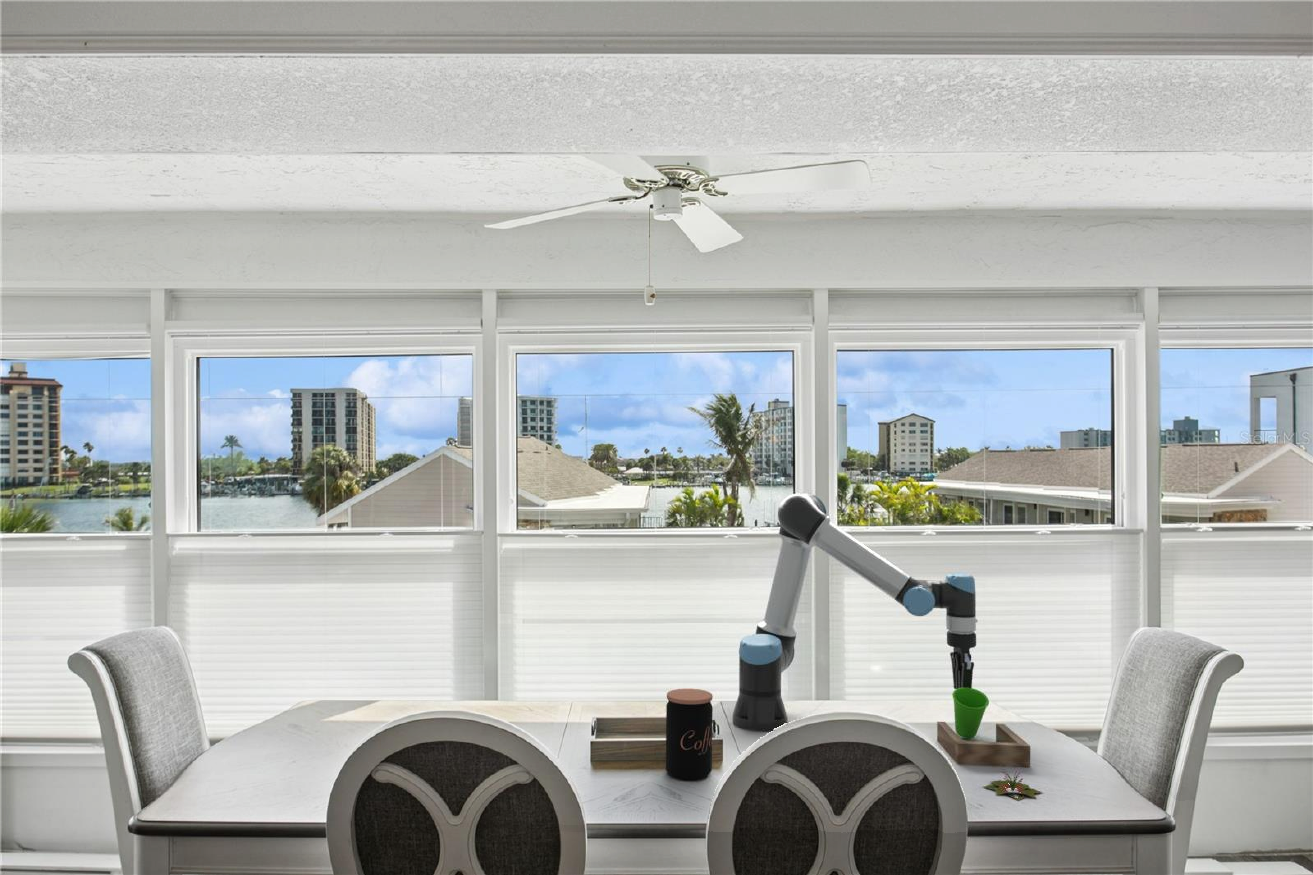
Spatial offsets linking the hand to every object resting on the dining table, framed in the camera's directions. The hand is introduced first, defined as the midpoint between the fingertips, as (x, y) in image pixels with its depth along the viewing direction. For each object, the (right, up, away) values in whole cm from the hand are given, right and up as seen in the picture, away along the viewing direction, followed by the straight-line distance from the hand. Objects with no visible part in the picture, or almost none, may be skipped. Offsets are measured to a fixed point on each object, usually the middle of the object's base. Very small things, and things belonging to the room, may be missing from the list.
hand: (962, 718), depth 226 cm
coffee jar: (-76, -1, -35) cm, 83 cm away
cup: (-1, -2, -5) cm, 5 cm away
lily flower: (-5, -2, -42) cm, 43 cm away
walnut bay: (-2, -3, -18) cm, 19 cm away
